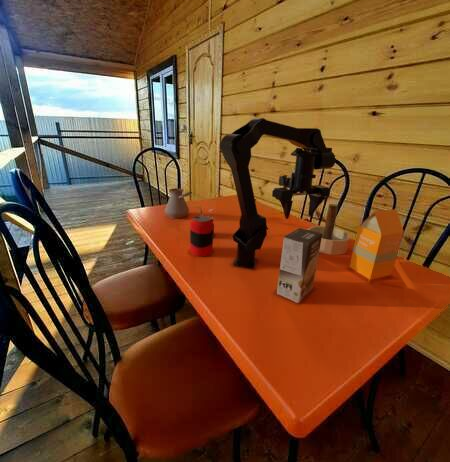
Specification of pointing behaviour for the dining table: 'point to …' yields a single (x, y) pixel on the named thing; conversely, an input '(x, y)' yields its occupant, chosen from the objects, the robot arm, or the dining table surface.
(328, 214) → the brown rectangular block
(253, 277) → the dining table surface
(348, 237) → the bowl
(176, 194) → the coffee pot
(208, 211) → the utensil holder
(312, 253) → the coffee box
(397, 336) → the dining table surface
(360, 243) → the orange juice
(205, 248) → the soda can
